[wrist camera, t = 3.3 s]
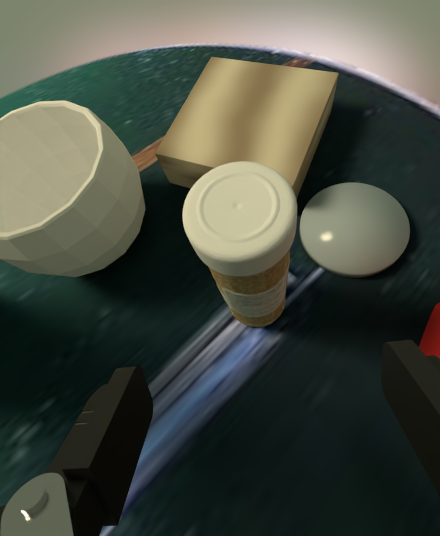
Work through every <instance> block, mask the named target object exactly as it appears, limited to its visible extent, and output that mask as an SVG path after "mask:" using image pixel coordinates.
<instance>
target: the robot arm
mask: <svg viewBox="0 0 440 536" xmlns="http://www.w3.org/2000/svg"><path fill="white" fill-rule="evenodd" d="M382 387H383V391H384V395H385V397H386V400H387V402H388V404H389V405H390V407H391V409H392V411H393V413H394V414H395V416H396V418H397V420H398V422H399V424H400V425H401V427H402V429H403V431H404V433H405V434H406V436H407V438H408V440H409V442H410V443H411V445H412V447H413V449H414V451H415V452H416V454H417V456H418V458H419V460H420V461H421V463H422V465H423V467H424V469H425V471H426V472H427V474H428V476H429V478H430V480H431V481H432V483H433V485H434V487H435V489H436V490H437V492H438V494H439V496H440V358H439V357H437V356H435V355H430V356H426V355H425V354H424V353H423V352H422V351H421V349H420V348H419V347H418V346H417V345H416V344H415V343H414V342H413V341H412V340H403V341H393V342H385V343H384V344H383V352H382ZM152 415H153V401H152V397H151V394H150V391H149V388H148V385H147V382H146V379H145V376H144V373H143V371H142V368H141V367H140V366H132V367H122V368H117V369H116V370H115V371H114V373H113V375H112V377H111V379H110V381H109V382H108V384H106V385H102V386H101V387H100V388H99V389H98V390H97V391H96V392H95V393H94V394H93V395H92V396H91V397H90V398H89V400H88V401H87V403H86V405H85V407H84V408H83V410H82V414H80V415H79V417H78V419H77V420H76V422H75V425H73V427H72V429H71V431H70V432H69V434H68V436H67V437H66V439H65V441H64V443H63V444H62V446H61V448H60V449H59V451H58V453H57V455H56V456H55V458H54V460H53V461H52V463H51V465H50V467H49V468H48V470H47V472H46V473H45V474H42V475H40V476H37V477H35V478H33V479H32V480H30V481H29V482H27V483H26V484H25V485H23V486H22V487H21V488H20V489H19V490H18V491H17V492H16V493H15V494H14V495H13V497H12V498H11V499H10V501H9V502H8V504H7V505H4V506H2V507H0V536H99V535H100V532H101V529H102V526H117V525H118V523H119V520H120V516H121V513H122V510H123V507H124V504H125V501H126V498H127V494H128V491H129V488H130V485H131V482H132V479H133V476H134V473H135V469H136V466H137V463H138V460H139V457H140V454H141V451H142V447H143V444H144V441H145V438H146V435H147V432H148V429H149V425H150V422H151V419H152Z"/></svg>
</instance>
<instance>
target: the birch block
mask: <svg viewBox="0 0 440 536" xmlns="http://www.w3.org/2000/svg"><path fill="white" fill-rule="evenodd" d="M338 74H339V73H335V72H327V71H319V70H311V69H303V68H295V67H287V66H279V65H271V64H263V63H256V62H248V61H240V60H232V59H224V58H216V57H211V59H210V60H209V62H208V64H207V65H206V67H205V69H204V71H203V72H202V74H201V76H200V77H199V79H198V81H197V82H196V84H195V86H194V88H193V89H192V91H191V93H190V94H189V96H188V98H187V100H186V101H185V103H184V105H183V106H182V108H181V110H180V112H179V113H178V115H177V117H176V118H175V120H174V122H173V123H172V125H171V127H170V129H169V130H168V132H167V134H166V135H165V137H164V139H163V141H162V142H161V144H160V146H159V147H158V149H157V151H156V153H155V154H156V156H157V158H158V160H159V162H160V164H161V166H162V168H163V170H164V172H165V174H166V176H167V178H168V180H169V182H170V183H173V184H176V185H180V186H184V187H188V188H192V187H193V185H194V184H195V183H196V182H197V181H198V180H199V179H200V178H201V177H202V176H203V175H205V174H206V173H207V172H209V171H210V170H212V169H214V168H216V167H218V166H221V165H224V164H228V163H232V162H240V161H248V162H256V163H260V164H263V165H266V166H268V167H271V168H273V169H274V170H276V171H277V172H279V173H280V174H281V175H282V176H283V177H284V178H285V179H286V180H287V181H288V182H289V184H290V186H291V187H292V189H293V191H294V194H295V197H296V199H297V197H298V194H299V192H300V189H301V187H302V184H303V182H304V179H305V177H306V174H307V171H308V169H309V166H310V164H311V161H312V159H313V156H314V154H315V151H316V149H317V146H318V144H319V141H320V139H321V136H322V134H323V131H324V128H325V126H326V123H327V121H328V118H329V116H330V113H331V109H332V104H333V99H334V94H335V89H336V84H337V79H338Z"/></svg>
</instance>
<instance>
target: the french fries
mask: <svg viewBox="0 0 440 536" xmlns="http://www.w3.org/2000/svg"><path fill="white" fill-rule="evenodd" d="M419 348H420V349H421V351H422V352H423V353H424V354H425V355H426V356H430V355H435V356H437V357H439V358H440V302H439V303H438V304H436V305H435V307H434V309H433V311H432V314H431V316H430V318H429V321H428V323H427V326H426V328H425V331H424V333H423V336H422V339H421V342H420V345H419Z"/></svg>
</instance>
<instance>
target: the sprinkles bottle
mask: <svg viewBox="0 0 440 536" xmlns="http://www.w3.org/2000/svg"><path fill="white" fill-rule="evenodd" d="M182 217H183V225H184V229H185V232H186V235H187V237H188V239H189V241H190V243H191V244H192V246H193V248H194V250H195V252H196V253H197V255H198V256H199V258H200V259H201V260H202V261H203V262H204V263H205V264H206V265H207V266H208V267H209V269H210V271H211V273H212V275H213V278H214V279H215V281H216V283H217V286H218V288H219V290H220V292H221V294H222V296H223V297H224V299H225V301H226V303H227V304H228V306H229V309H230V311H231V313H232V314H233V316H234V317H235V318H236V319H237V320H238V321H240V322H241V323H243V324H245V325H247V326H253V327H261V326H266V325H269V324H271V323H273V322H274V321H275V320H276V319H277V318H278V317H279V316H280V315H281V313H282V312H283V310H284V307H285V300H286V297H285V293H286V287H287V278H288V269H289V261H290V254H289V249H290V247H291V245H292V243H293V240H294V237H295V231H296V223H297V201H296V197H295V194H294V191H293V189H292V187H291V186H290V184H289V182H288V181H287V180H286V179H285V178H284V177H283V176H282V175H281V174H280V173H279V172H277V171H276V170H274V169H273V168H271V167H268V166H266V165H263V164H260V163H256V162H248V161H240V162H232V163H228V164H224V165H221V166H218V167H216V168H214V169H212V170H210V171H209V172H207V173H206V174H205V175H203V176H202V177H201V178H200V179H199V180H198V181H197V182H196V183H195V184H194V185H193V187H192V188H191V190H190V191H189V193H188V195H187V197H186V199H185V203H184V207H183V213H182Z"/></svg>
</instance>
